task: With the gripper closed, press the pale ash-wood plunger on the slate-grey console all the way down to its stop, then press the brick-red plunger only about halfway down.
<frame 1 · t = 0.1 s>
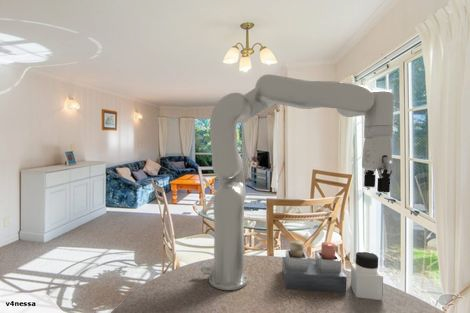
hand: (376, 189, 80), 31 cm above the table, tool pointing down, fingers open, 9 cm apart
medicine bottle: (365, 293, 79), on the table
red plunger: (328, 250, 85), point 10 cm above the table, slide at 0.0 cm
console: (311, 281, 86), on the table
ash plunger: (296, 248, 86), point 10 cm above the table, slide at 0.0 cm
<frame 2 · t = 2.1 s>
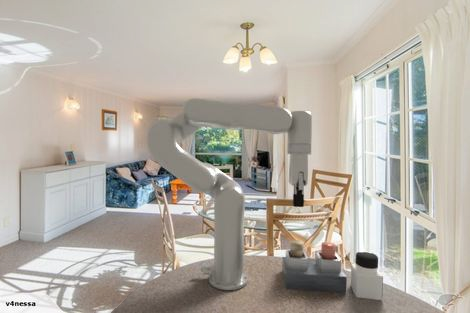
hand: (298, 206, 85), 24 cm above the table, tool pointing down, fingers closed
nothing on the table moved.
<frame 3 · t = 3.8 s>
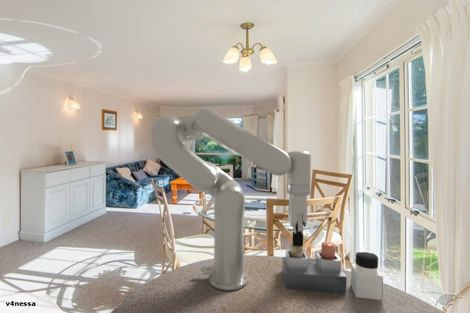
hand: (297, 245, 86), 12 cm above the table, tool pointing down, fingers closed
ash plunger: (296, 251, 86), point 10 cm above the table, slide at 0.8 cm, touching gripper
everything else where it was.
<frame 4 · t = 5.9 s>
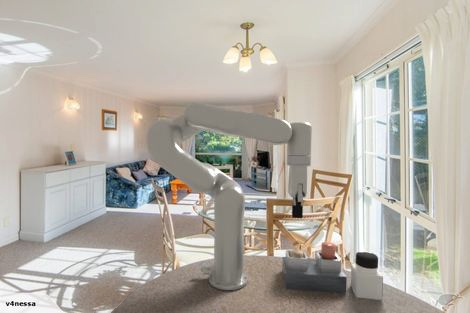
hand: (297, 217, 86), 21 cm above the table, tool pointing down, fingers closed
ash plunger: (296, 258, 86), point 7 cm above the table, slide at 3.1 cm
everything else where it was.
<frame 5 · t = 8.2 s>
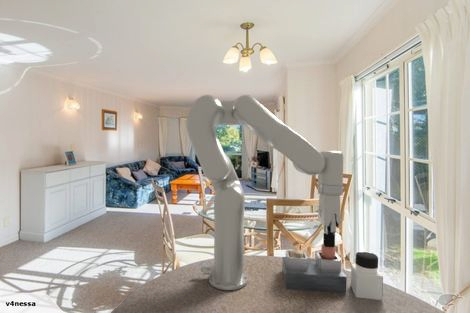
hand: (329, 245, 85), 12 cm above the table, tool pointing down, fingers closed
red plunger: (328, 252, 85), point 10 cm above the table, slide at 0.5 cm, touching gripper
everything else where it was.
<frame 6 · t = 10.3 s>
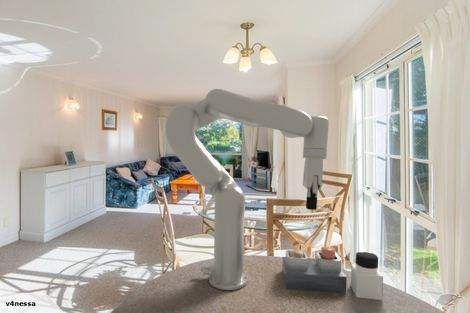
hand: (311, 208, 88), 23 cm above the table, tool pointing down, fingers closed
red plunger: (328, 254, 85), point 9 cm above the table, slide at 1.5 cm
everything else where it was.
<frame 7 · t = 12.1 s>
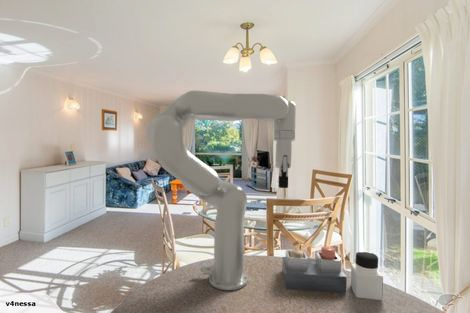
hand: (283, 187, 95), 29 cm above the table, tool pointing down, fingers closed
nothing on the table moved.
at the end: ash plunger slide at 3.1 cm; red plunger slide at 1.5 cm; medicine bottle moved 0.2 cm from its start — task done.
